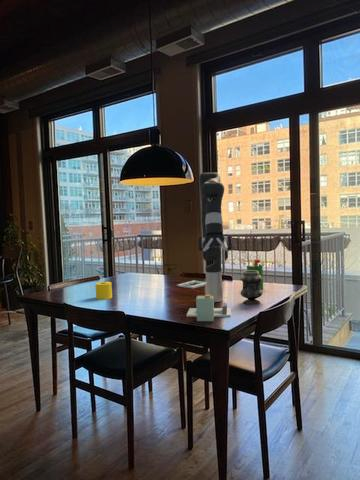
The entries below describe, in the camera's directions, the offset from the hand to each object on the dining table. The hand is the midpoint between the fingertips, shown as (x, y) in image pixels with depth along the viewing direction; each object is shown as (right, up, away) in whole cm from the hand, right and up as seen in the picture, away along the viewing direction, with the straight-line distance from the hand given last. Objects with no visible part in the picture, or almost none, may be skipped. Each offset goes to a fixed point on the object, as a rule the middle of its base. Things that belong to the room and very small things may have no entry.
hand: (215, 260), depth 161 cm
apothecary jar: (+25, -27, +50) cm, 62 cm away
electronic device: (-6, -24, +107) cm, 110 cm away
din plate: (0, -29, +32) cm, 43 cm away
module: (-3, -30, +22) cm, 37 cm away
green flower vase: (+35, -24, +85) cm, 95 cm away
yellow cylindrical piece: (-64, -28, +78) cm, 104 cm away
